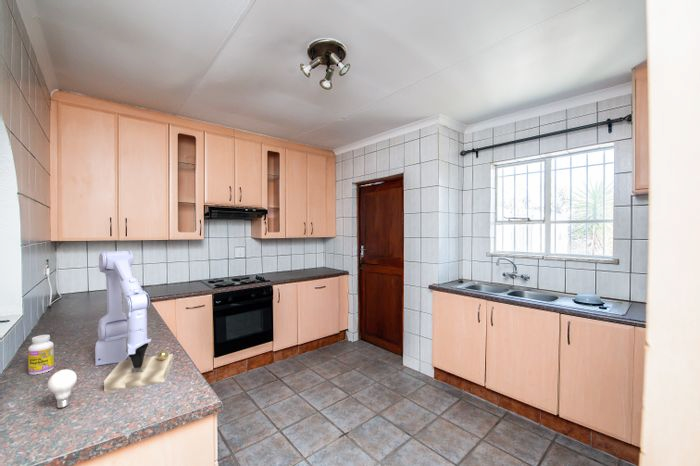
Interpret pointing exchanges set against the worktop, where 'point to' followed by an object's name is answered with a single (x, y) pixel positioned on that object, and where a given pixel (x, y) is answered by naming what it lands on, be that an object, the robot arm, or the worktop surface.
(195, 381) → the worktop surface
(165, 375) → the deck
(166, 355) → the brass ball
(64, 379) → the lightbulb
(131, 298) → the robot arm
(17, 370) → the worktop surface
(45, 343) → the supplement bottle
